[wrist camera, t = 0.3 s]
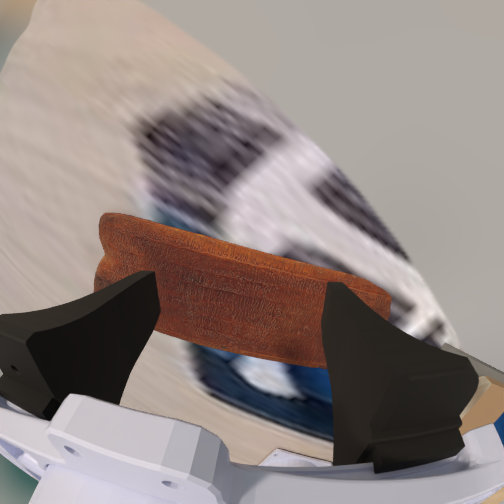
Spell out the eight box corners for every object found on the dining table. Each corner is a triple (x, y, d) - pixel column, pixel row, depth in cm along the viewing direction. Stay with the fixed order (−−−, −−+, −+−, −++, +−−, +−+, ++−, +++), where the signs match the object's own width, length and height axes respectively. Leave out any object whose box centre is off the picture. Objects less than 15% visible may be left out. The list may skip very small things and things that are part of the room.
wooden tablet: (98, 303, 26) (89, 310, 25) (105, 205, 24) (94, 208, 22) (357, 377, 25) (361, 388, 24) (402, 285, 22) (409, 293, 21)
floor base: (426, 473, 29) (430, 484, 26) (333, 461, 28) (334, 475, 26) (518, 380, 23) (526, 389, 21) (445, 342, 23) (455, 355, 20)
